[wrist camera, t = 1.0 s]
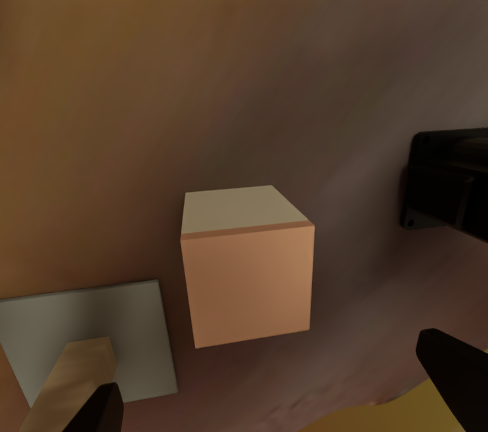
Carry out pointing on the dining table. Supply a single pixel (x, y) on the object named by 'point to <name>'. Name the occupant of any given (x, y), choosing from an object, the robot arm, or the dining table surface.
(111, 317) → the grey flat square slab
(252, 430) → the dining table surface
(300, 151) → the dining table surface
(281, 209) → the cream orange-topped box
